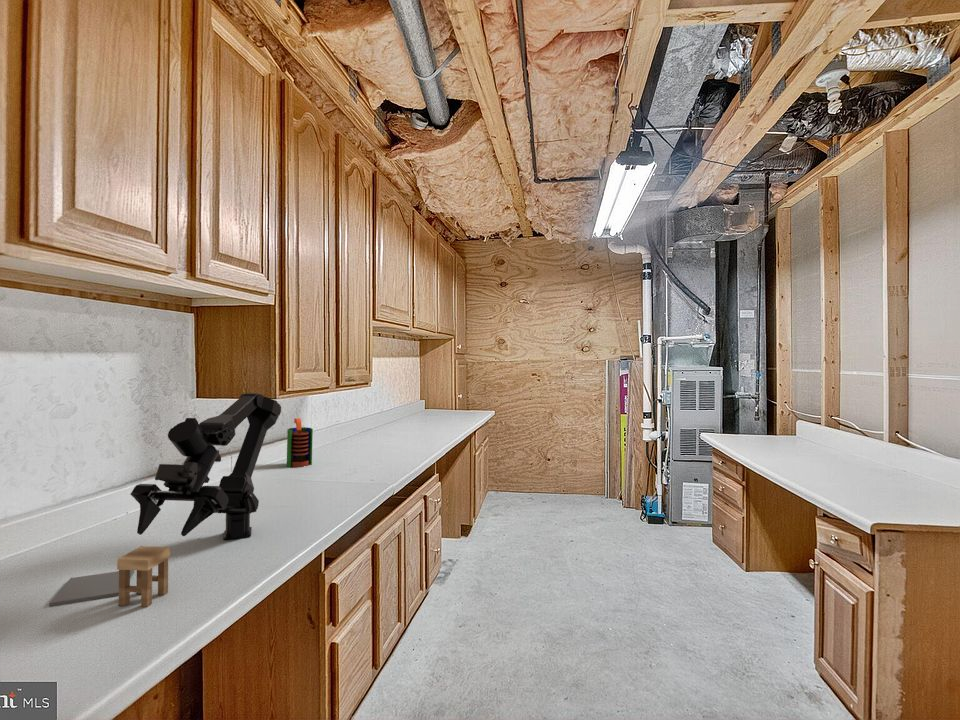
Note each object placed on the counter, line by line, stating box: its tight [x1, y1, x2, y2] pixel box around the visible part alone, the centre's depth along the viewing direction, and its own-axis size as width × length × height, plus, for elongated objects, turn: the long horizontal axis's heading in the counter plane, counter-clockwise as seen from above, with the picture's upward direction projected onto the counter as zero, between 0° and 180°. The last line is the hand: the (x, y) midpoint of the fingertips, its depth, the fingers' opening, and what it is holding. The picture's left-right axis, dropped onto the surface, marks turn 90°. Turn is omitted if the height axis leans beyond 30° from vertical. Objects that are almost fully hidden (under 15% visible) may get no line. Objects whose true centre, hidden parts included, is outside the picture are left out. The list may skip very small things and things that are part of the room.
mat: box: [48, 570, 135, 607], centre depth 97 cm, size 11×11×1 cm
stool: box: [116, 545, 171, 608], centre depth 93 cm, size 6×6×9 cm
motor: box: [286, 417, 314, 468], centre depth 206 cm, size 10×9×20 cm
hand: (160, 534), depth 97 cm, fingers open, 9 cm apart
